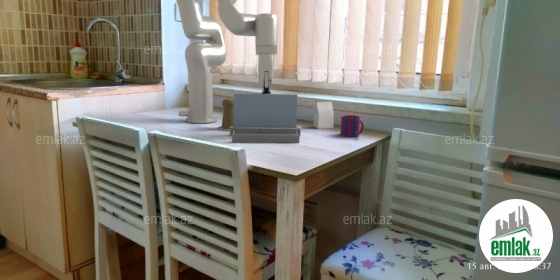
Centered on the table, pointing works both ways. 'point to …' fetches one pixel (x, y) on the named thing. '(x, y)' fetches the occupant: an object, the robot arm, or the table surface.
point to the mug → (351, 126)
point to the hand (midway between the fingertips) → (266, 103)
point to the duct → (265, 135)
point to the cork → (228, 113)
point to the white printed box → (323, 115)
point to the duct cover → (265, 110)
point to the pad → (222, 129)
